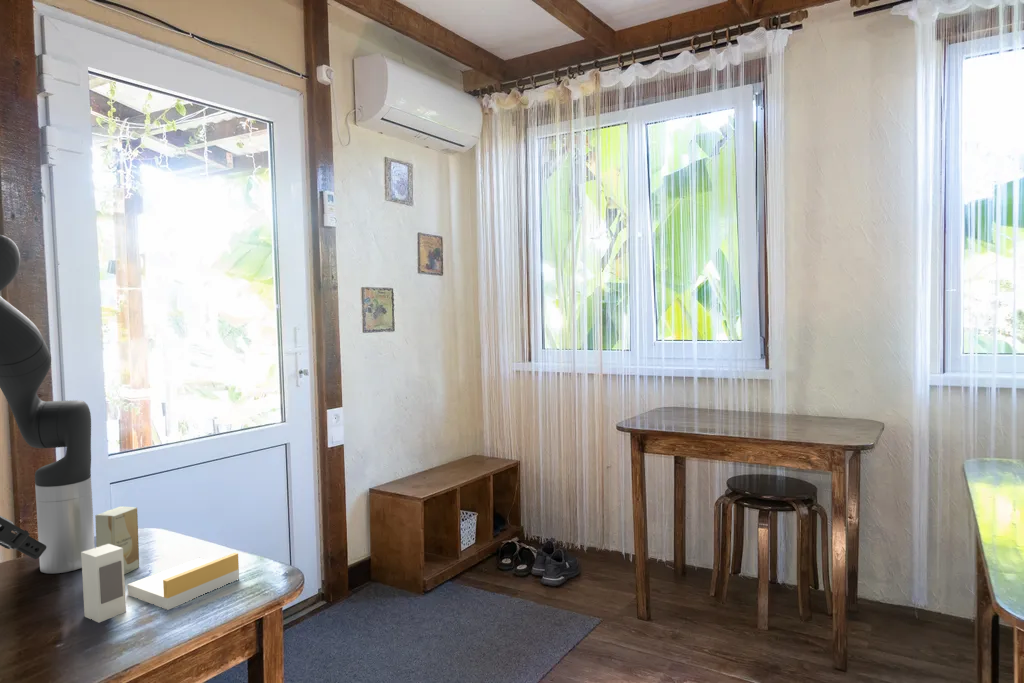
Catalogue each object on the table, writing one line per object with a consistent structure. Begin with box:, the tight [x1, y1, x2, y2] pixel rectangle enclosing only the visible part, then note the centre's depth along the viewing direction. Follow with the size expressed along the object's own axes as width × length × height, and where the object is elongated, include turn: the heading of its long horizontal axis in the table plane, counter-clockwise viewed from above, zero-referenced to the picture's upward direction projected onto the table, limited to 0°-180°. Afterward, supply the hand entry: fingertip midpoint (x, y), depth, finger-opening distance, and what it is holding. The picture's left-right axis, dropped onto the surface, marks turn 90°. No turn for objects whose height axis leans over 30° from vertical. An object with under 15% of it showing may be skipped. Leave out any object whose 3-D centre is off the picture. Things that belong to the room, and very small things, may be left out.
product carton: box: [81, 544, 127, 624], centre depth 110 cm, size 5×4×11 cm
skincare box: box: [95, 505, 140, 575], centre depth 127 cm, size 6×4×12 cm
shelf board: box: [127, 552, 240, 611], centre depth 120 cm, size 12×14×5 cm
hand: (27, 547), depth 100 cm, fingers open, 8 cm apart
